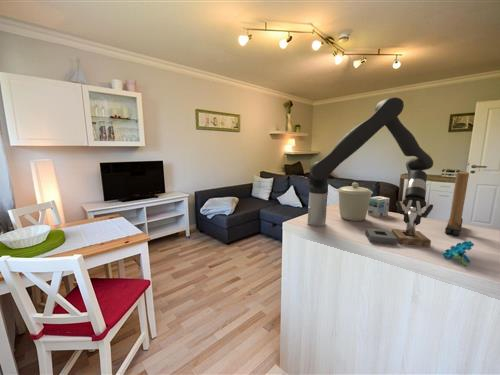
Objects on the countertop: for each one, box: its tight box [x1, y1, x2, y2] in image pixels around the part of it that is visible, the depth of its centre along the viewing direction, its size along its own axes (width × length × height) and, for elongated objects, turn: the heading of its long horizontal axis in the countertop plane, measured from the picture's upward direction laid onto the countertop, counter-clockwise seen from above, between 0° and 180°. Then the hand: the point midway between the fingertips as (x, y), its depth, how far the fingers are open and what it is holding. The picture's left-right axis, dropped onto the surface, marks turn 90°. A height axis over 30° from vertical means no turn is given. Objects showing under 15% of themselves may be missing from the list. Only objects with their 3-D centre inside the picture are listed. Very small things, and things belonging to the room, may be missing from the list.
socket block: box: [364, 227, 398, 246], centre depth 99 cm, size 10×10×3 cm
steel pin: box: [405, 207, 418, 235], centre depth 96 cm, size 3×3×12 cm
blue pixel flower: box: [442, 240, 475, 267], centre depth 80 cm, size 11×6×10 cm
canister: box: [337, 182, 374, 222], centre depth 126 cm, size 18×18×21 cm
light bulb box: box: [367, 195, 390, 218], centre depth 134 cm, size 11×7×11 cm, turn 118°
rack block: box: [390, 228, 432, 248], centre depth 97 cm, size 11×11×3 cm
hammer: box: [444, 171, 470, 236], centre depth 105 cm, size 20×5×30 cm, turn 134°
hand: (411, 223), depth 95 cm, fingers closed on steel pin, 3 cm apart
